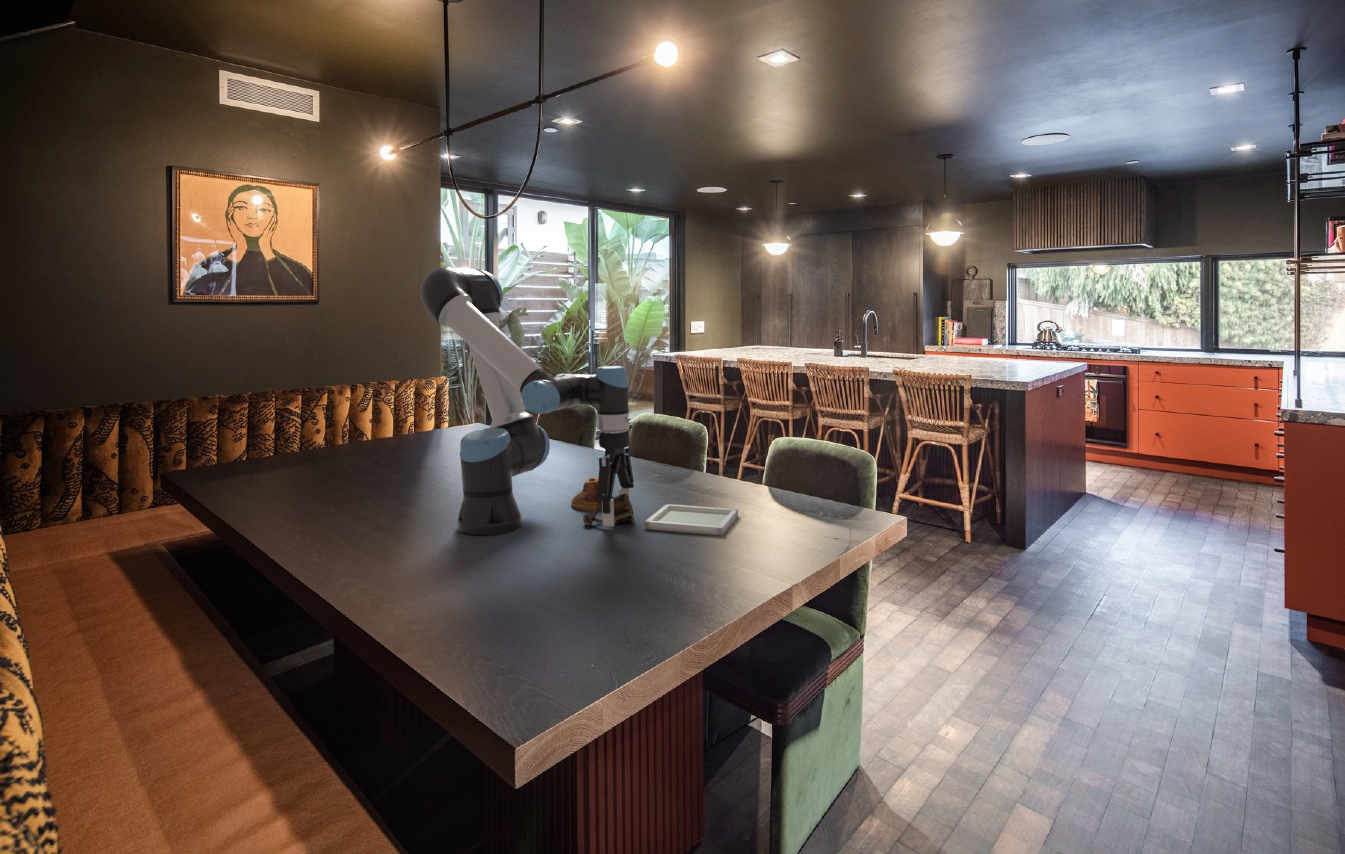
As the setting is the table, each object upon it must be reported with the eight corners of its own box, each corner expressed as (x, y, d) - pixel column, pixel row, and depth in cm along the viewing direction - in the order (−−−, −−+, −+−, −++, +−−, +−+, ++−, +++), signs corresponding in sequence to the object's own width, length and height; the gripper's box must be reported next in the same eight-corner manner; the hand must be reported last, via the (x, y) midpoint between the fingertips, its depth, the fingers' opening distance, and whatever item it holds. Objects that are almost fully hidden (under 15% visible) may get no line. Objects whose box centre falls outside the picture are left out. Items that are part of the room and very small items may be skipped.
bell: (598, 514, 184) (597, 486, 183) (562, 508, 190) (561, 481, 189) (624, 503, 194) (623, 477, 193) (589, 497, 200) (588, 472, 199)
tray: (644, 528, 170) (644, 521, 170) (666, 510, 185) (666, 503, 185) (722, 535, 164) (721, 527, 164) (738, 516, 179) (738, 509, 179)
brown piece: (632, 508, 168) (640, 489, 177) (579, 502, 170) (590, 483, 179) (631, 534, 171) (639, 514, 180) (579, 528, 173) (590, 508, 182)
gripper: (609, 439, 160) (613, 534, 164) (645, 423, 181) (647, 508, 185) (579, 438, 162) (583, 531, 166) (617, 422, 184) (620, 506, 187)
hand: (617, 519), depth 175 cm, fingers closed on brown piece, 10 cm apart
